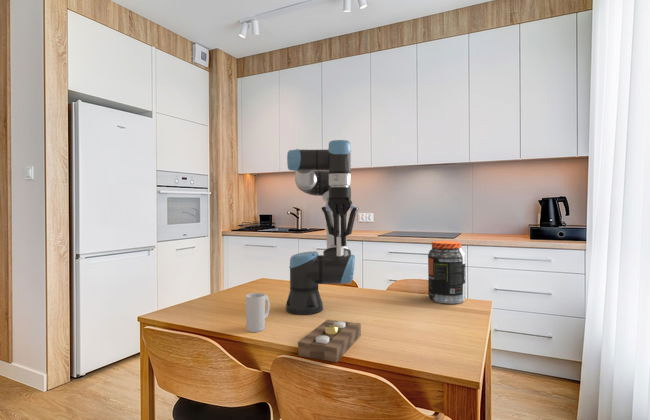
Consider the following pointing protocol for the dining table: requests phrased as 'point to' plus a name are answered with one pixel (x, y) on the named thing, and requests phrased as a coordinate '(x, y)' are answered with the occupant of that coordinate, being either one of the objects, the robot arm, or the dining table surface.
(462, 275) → the supplement tub
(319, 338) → the grey plug
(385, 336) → the dining table surface
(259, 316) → the mug
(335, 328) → the plug brass
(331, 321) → the socket block
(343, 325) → the grey plug
